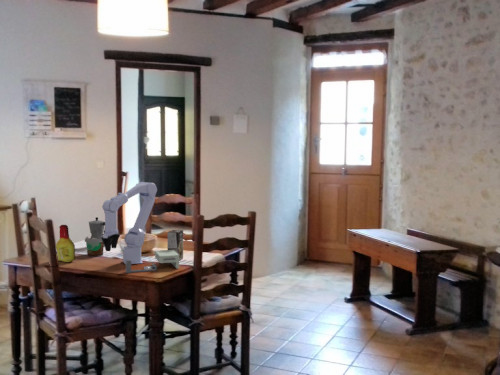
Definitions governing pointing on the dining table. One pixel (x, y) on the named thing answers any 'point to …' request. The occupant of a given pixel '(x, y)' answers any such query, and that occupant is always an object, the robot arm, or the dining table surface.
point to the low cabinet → (168, 257)
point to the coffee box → (176, 242)
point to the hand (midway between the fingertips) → (111, 249)
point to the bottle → (65, 246)
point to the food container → (94, 246)
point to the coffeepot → (96, 228)
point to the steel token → (148, 267)
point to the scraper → (128, 270)
